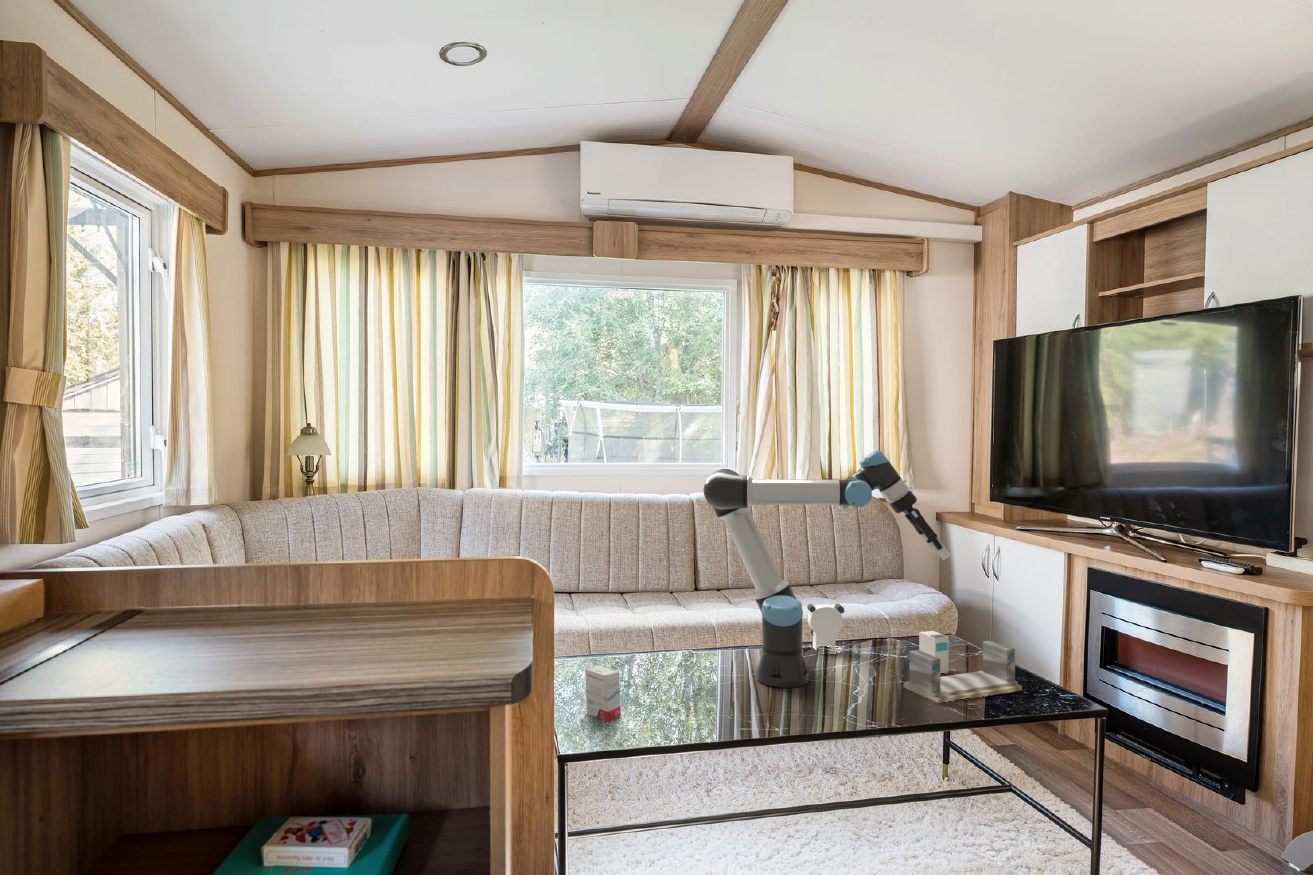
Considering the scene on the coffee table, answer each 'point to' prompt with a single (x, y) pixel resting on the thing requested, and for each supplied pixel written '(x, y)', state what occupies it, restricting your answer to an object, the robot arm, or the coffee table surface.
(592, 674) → the ink box
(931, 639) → the block
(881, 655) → the coffee table surface
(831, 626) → the panda figurine
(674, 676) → the coffee table surface
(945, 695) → the board
